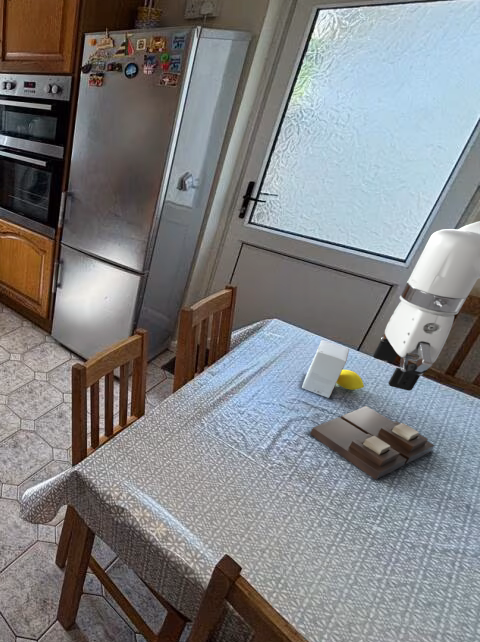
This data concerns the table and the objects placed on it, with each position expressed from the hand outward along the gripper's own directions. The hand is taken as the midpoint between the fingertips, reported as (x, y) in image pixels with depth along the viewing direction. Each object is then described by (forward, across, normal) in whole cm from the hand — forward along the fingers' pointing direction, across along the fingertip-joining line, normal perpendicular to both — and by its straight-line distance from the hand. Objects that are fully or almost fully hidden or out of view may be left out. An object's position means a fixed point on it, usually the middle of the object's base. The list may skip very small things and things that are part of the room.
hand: (390, 372), depth 82 cm
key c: (+25, +16, -15) cm, 33 cm away
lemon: (+29, +37, -8) cm, 47 cm away
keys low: (+28, +18, -12) cm, 36 cm away
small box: (+29, +34, -2) cm, 44 cm away
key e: (+25, +8, -7) cm, 27 cm away
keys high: (+28, +10, -5) cm, 31 cm away
